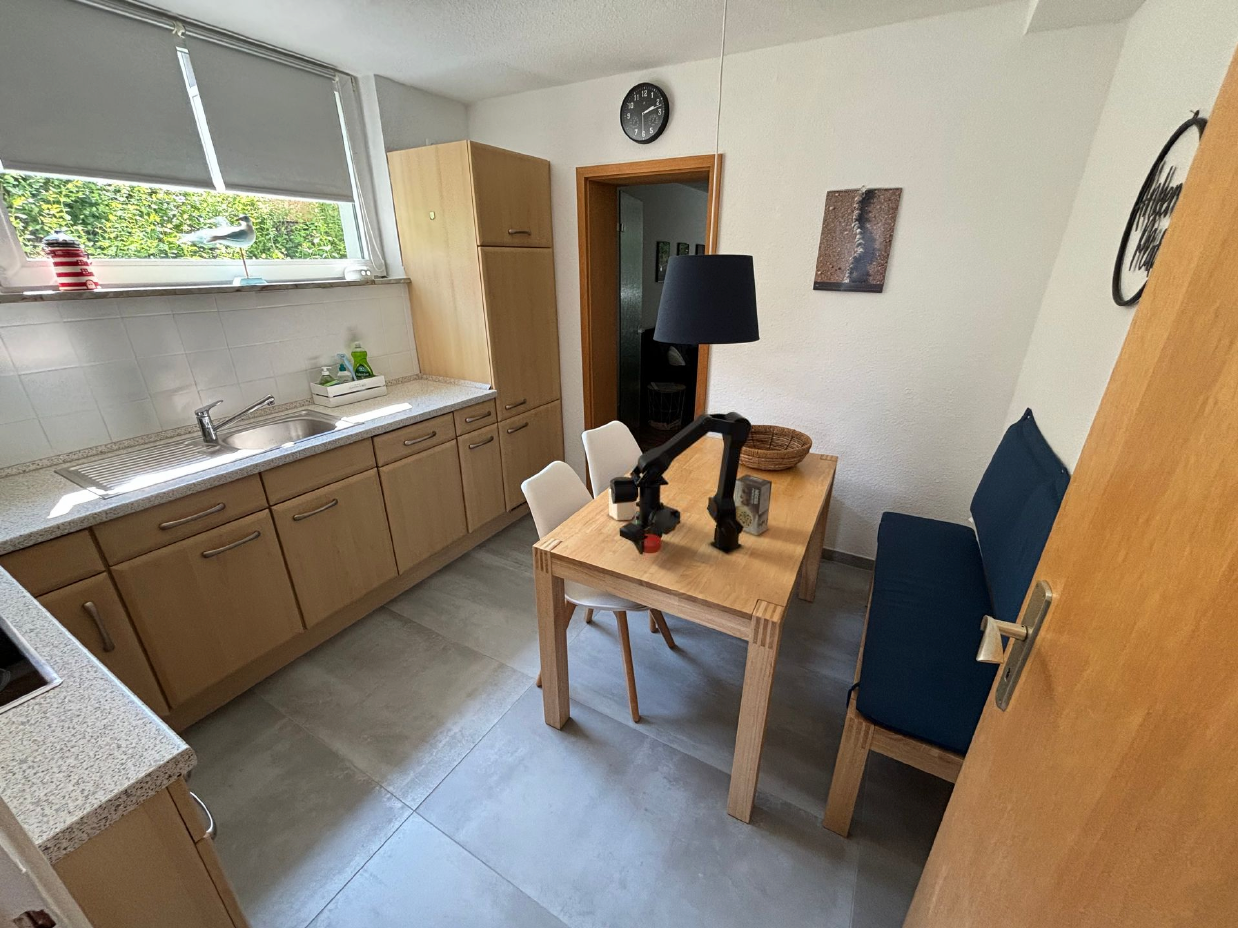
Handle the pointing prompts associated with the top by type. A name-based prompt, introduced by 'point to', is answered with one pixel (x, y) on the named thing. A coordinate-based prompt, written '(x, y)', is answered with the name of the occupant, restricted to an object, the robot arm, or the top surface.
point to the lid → (652, 544)
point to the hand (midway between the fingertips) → (648, 549)
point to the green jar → (647, 531)
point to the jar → (621, 507)
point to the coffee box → (752, 503)
